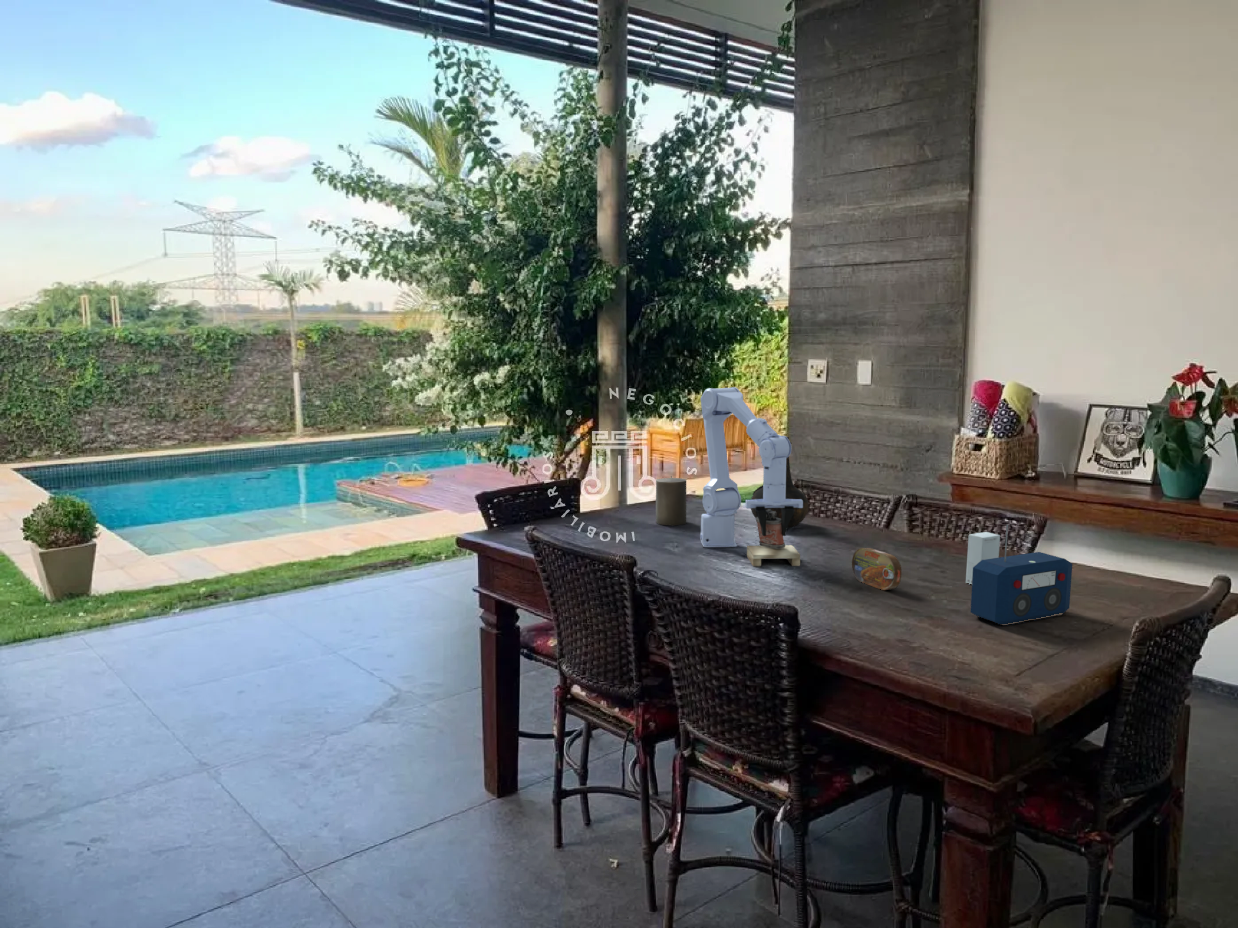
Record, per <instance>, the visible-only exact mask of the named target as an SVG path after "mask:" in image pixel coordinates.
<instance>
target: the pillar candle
mask: <svg viewBox="0 0 1238 928" xmlns="http://www.w3.org/2000/svg"><path fill="white" fill-rule="evenodd" d="M655 522H656V524H658V525H663V526H673V527H674V526H680V525H686V524H687V479H686V478H682V477H681V478H678V477H672V475H671V476H670V477H664V478H657V479H655Z"/></svg>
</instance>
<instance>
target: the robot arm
mask: <svg viewBox="0 0 1238 928" xmlns="http://www.w3.org/2000/svg"><path fill="white" fill-rule="evenodd" d="M700 406H701V415H702V419H703V427H704V436H705V442H706V452H707V461H708V470H709V481H708V482H707V483H706V484H705V485H703V488H702V491H703V494H702V502H701V503H702V507H703V509H704V511H705V512H706V513H702V514H701V516H700V534H699V538H700V539H699V540H700V543H701V545H702V547H703V548H737V547H738V544H737V543H736V541H735V514H737V513H738V512H737V511H738V510H739V509H740V507H741V506H742V505H741V504H742V497H741V494H740V491H739V487H738V483H736V481H734V480H733V479H731V478H730V470H729V462H728V460H729V459H728V453H727V445H726V444H727V443H726V436H725V434H726V433H725V428H724V427H725V425H724V422H725V421H726V419H727V418H729V417H730V416H731V415H733V416H735V418H737V420H739V421H740V422H741V423H742V424H743V425H744V426H745V427H746V429H745V430H746V434H747V436H748V437H749V438H751V439H750V440H752V441H753V442H754V443H755V444H756V446H757V447H758V454H759V455H760V458H761V464H762V466H763V473H762V474H763V475H762V476H763V477H762V479H763V499H754V500H751V499H745V508H746V509H751V508H754V509H755V512H756V514H757V516H758V519H759V522H760V525H761V530H762V535H763V536H766V515H767V512H766V509H765V508H781V511H782V535H783V537H785V536H786V534H787V530H788V528H787V527H788V524H789V522H790V519H791V517H792V516H793V514H794V507H798V508H803V500H801V499H785V496H786V458H787V457H789V458H790V456H791V453H792V444H791V443H792V442H791V441H790V439H789V440H788V438H787V437H788V436H786V435H780V434H778V433H777V432H776V431H775V430H774V429H773V428H772V427H771V425H769V424H768V421H767V420H766V418H762V417H756V415H755V414H754V413H753V411H752V410H751V409H750V407H749V406H748V405H747V404H746V402H745V401H744V394H743V393H742V392H741V391H740V390H739V388H738V387H736V386H733V387H723V388H722V387H718V388H713V387H711V388H710V387H709V388H706V389H705V390H704V392H703V393H702V395H701V397H700ZM790 442H791V443H790ZM720 489H721V490H720Z"/></svg>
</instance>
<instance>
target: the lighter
mask: <svg viewBox="0 0 1238 928" xmlns="http://www.w3.org/2000/svg"><path fill="white" fill-rule="evenodd" d="M766 512H767V515H766V536H763V535H762V530H761V525H760V522H759V519H758V517H756V518H755V522H756V525H757V531H758V532H757V533H758V537H759V539H758V540H759V541H758V542H759V546H763V547H768V548H775V549H781V548H784V547H785V545H786V543H785V541H784V540H785V539H784V536H783V535H782V526H781V522H782V521H781V519H780V518H776V511H772V510H771V509H768V510H766Z"/></svg>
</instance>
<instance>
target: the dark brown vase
mask: <svg viewBox="0 0 1238 928" xmlns="http://www.w3.org/2000/svg"><path fill="white" fill-rule="evenodd" d="M786 437H787V438H788V440H789V441H790V437H789V436H786ZM790 443H791V445H792V442H791V441H790ZM790 463H791V462H790V456H789V457H787V458H786V496H785V499H801V500H803V508H798V507H794V514H793V516H792V517H791V519H790V522H789V524H788V527H787V529H790V528H793V527H796V526H798V525H799V524H801V523H802V522H803V520H805V518H806V517H807V515H808V511H809V508H810V507H809V505H810V504H809V501H808V498H807V496H806V495H805V493H804V492H803V491H801V489H799V488H797V487H796V486H795V485H794V483H793V479H792V473H791V464H790ZM754 499H763V485H761V486H759V487H757V488H756V489H755V490H754V491H753V492H752V496H751V498H750V500H754ZM765 509H766V510H768V509H771V510H772V511H776V518H780V519H781V521H782V511H781V508H765ZM750 510H751V513H752V515H753V516H754V518H755V519H756V517H758V516H757V514H756V512H755V509H754V508H750ZM781 526H782V522H781Z"/></svg>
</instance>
